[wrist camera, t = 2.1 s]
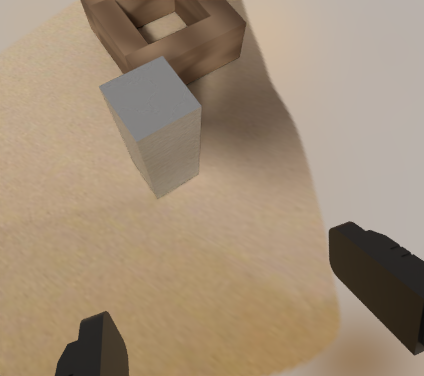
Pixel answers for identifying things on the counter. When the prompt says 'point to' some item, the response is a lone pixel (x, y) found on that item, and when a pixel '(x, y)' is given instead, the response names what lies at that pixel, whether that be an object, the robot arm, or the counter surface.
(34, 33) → the counter surface
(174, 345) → the counter surface
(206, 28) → the well block
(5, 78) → the counter surface
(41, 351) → the counter surface
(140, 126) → the grey square pillar
